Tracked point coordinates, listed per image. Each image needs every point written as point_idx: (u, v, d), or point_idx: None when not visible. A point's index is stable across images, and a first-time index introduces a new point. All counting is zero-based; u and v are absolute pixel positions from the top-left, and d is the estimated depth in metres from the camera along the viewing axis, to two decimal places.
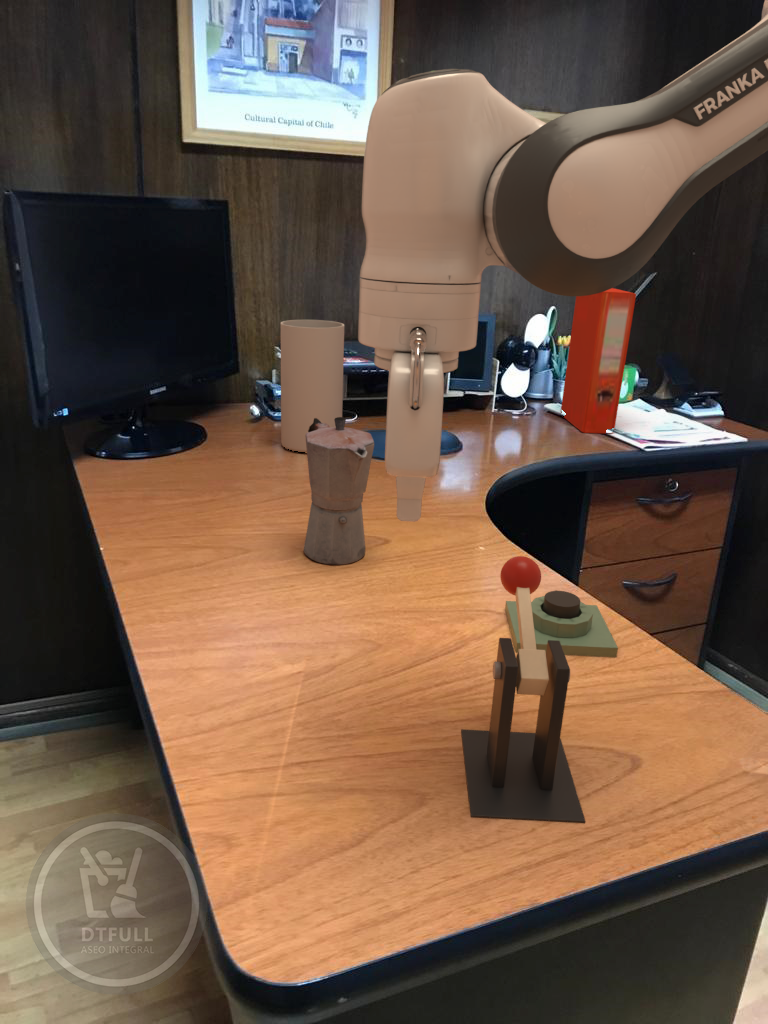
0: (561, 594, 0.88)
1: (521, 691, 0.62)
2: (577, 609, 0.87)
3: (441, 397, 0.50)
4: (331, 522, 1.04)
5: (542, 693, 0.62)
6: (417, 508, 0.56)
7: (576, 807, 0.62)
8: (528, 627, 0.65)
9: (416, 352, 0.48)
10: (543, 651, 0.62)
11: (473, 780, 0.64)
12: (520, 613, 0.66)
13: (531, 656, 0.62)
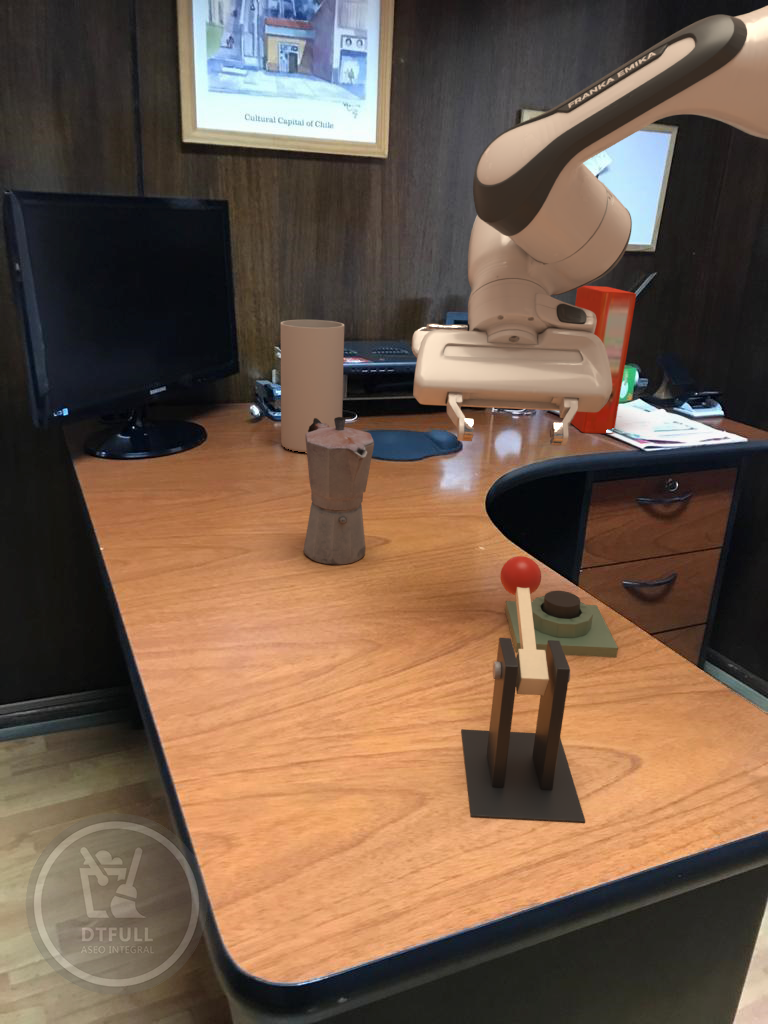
0: (561, 594, 0.88)
1: (521, 691, 0.62)
2: (577, 609, 0.87)
3: (422, 342, 0.80)
4: (331, 522, 1.04)
5: (542, 693, 0.62)
6: (458, 425, 0.77)
7: (576, 807, 0.62)
8: (528, 627, 0.65)
9: None
10: (543, 651, 0.62)
11: (473, 780, 0.64)
12: (520, 613, 0.66)
13: (531, 656, 0.62)
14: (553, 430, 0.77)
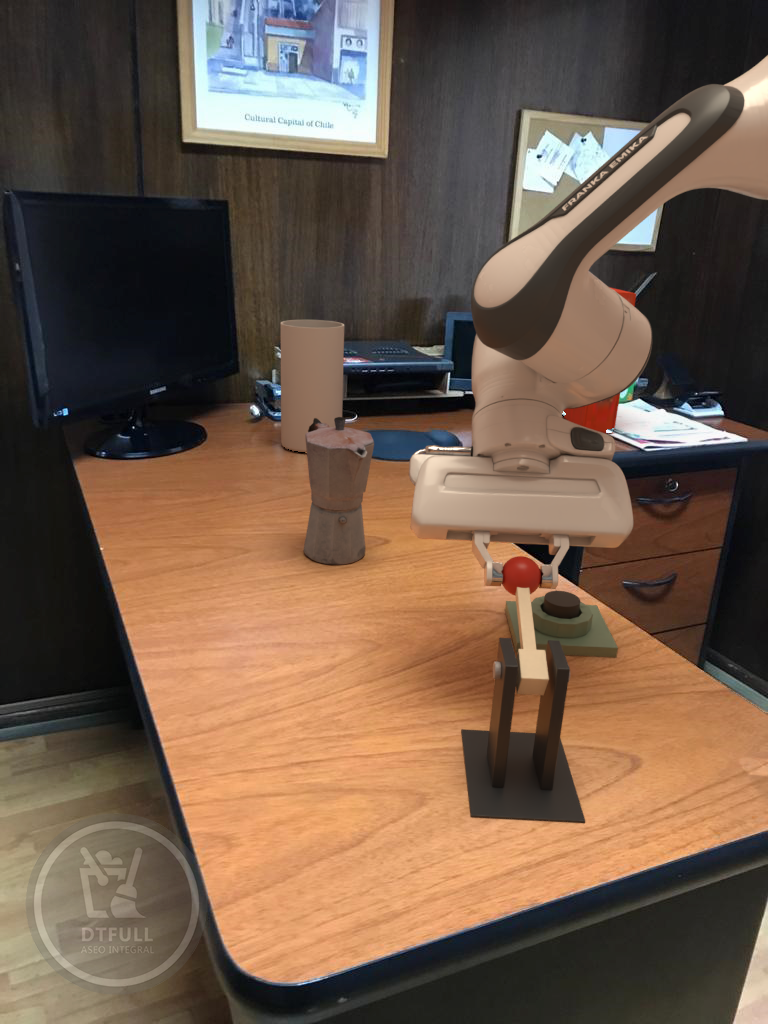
0: (561, 594, 0.88)
1: (521, 691, 0.62)
2: (577, 609, 0.87)
3: (421, 471, 0.72)
4: (331, 522, 1.04)
5: (542, 693, 0.62)
6: (486, 570, 0.69)
7: (576, 807, 0.62)
8: (528, 627, 0.65)
9: None
10: (543, 651, 0.62)
11: (473, 780, 0.64)
12: (520, 613, 0.66)
13: (531, 656, 0.62)
14: (541, 573, 0.69)
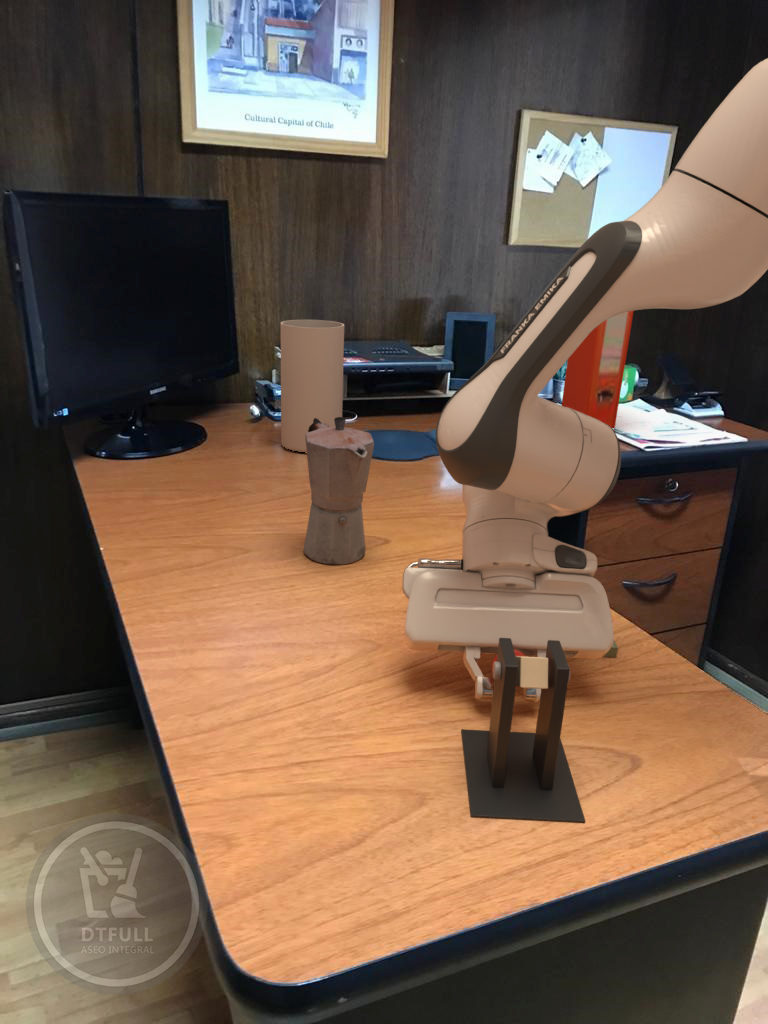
0: None
1: (523, 681, 0.61)
2: None
3: (413, 587, 0.76)
4: (331, 522, 1.04)
5: (545, 684, 0.61)
6: (476, 685, 0.73)
7: (576, 807, 0.62)
8: None
9: None
10: None
11: (473, 780, 0.64)
12: None
13: None
14: None
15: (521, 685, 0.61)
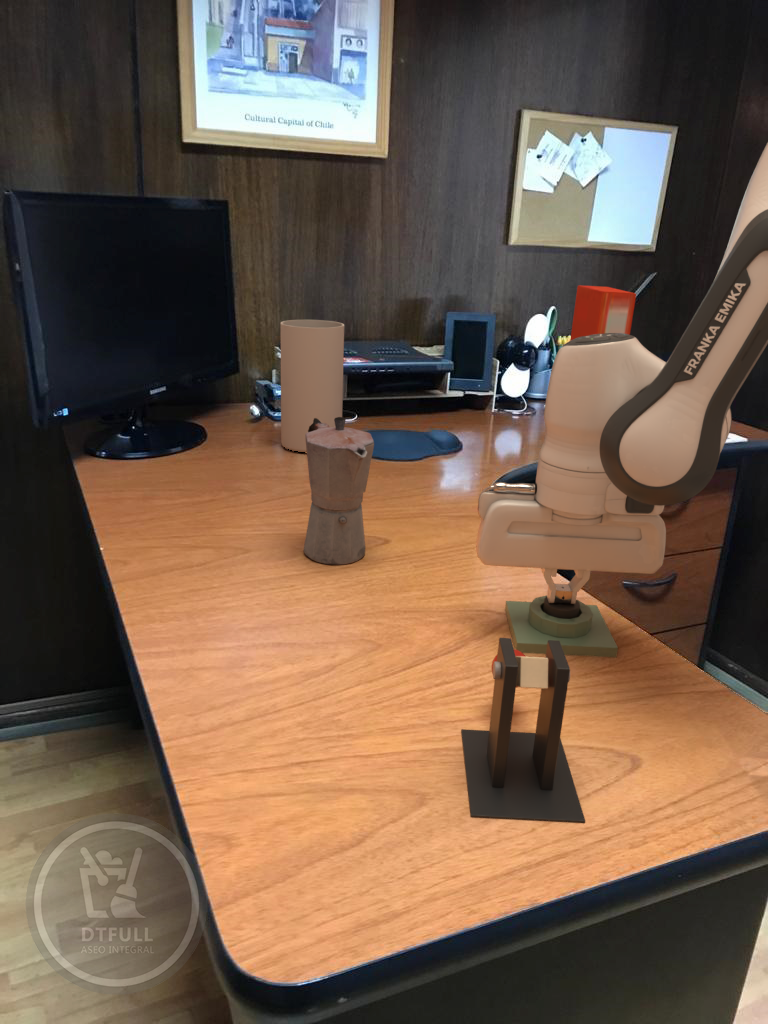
0: None
1: (523, 681, 0.61)
2: (576, 613, 0.87)
3: (488, 519, 0.83)
4: (331, 522, 1.04)
5: (545, 684, 0.61)
6: (550, 594, 0.87)
7: (576, 807, 0.62)
8: None
9: (485, 488, 0.83)
10: None
11: (473, 780, 0.64)
12: None
13: None
14: None
15: (521, 685, 0.61)
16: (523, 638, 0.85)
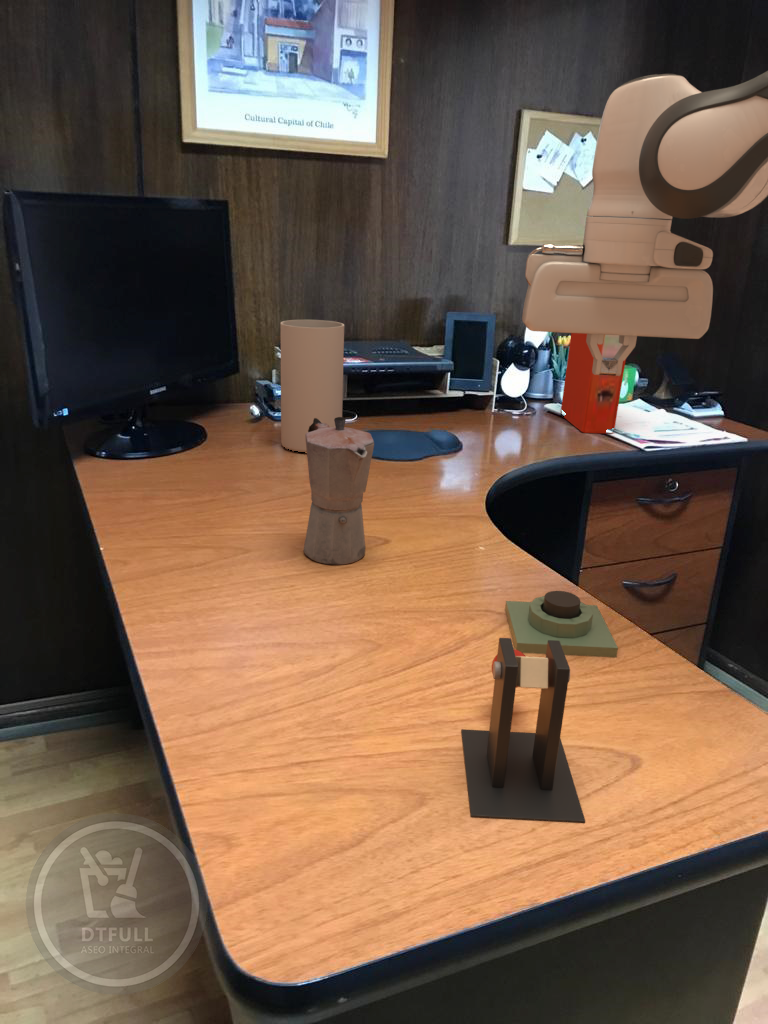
0: (561, 594, 0.88)
1: (523, 681, 0.61)
2: (577, 609, 0.87)
3: (537, 279, 0.83)
4: (331, 522, 1.04)
5: (545, 684, 0.61)
6: (595, 365, 0.88)
7: (576, 807, 0.62)
8: None
9: (532, 251, 0.84)
10: None
11: (473, 780, 0.64)
12: None
13: None
14: None
15: (521, 685, 0.61)
16: (523, 638, 0.85)
